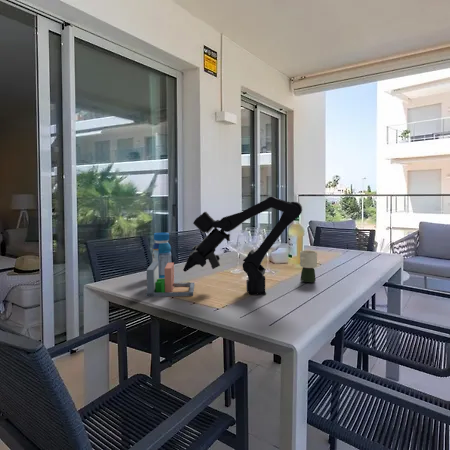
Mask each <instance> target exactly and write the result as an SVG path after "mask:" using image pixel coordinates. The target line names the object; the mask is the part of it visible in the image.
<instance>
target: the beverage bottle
mask: <svg viewBox="0 0 450 450" xmlns="http://www.w3.org/2000/svg"><path fill="white" fill-rule="evenodd" d="M153 241H154V244H153V245H152V253H151V256H152V262H159V279H164V278H165V267H166V265H167V263H172V252H171V250H172V245H171V244H170V242H169V241H170V233H169V232H154V233H153Z"/></svg>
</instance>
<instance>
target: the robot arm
mask: <svg viewBox="0 0 450 450" xmlns="http://www.w3.org/2000/svg"><path fill="white" fill-rule="evenodd" d="M269 209H275V210H278V211H279V212H282V214H281V216H280V218H279V220H278V222H277V223H276V224H275V226H274V227H273V229H271V231H270V232H269V233H268V235H267V236H266V238H265V239H264V240H263V241H262V243H261V244H260V245H259V247H258V248H257V249H256V250H255V251H254V250H253V249H251V250H250V251H249V252H248V254H247V255H246V256H245V258H243V260H242V261H243V263H242V270H243V271H244V272H245V273H246V276H247V279H245V280H246V283H245V284H246V285H245V286H246V289H245V290H246V292H247V293H248V295H252V296H253V295H267V292H266V276H265V273H266V271H267V270H266V268H265V267H264V266H263V265H262V263H263V261H264V259H265V257H266V255H267V253H268V252H269V251H270V250H271V248H272V247H273V246H274V244H275V243H276V241H278V239H279V238H280V236H281V235H282V234H283V233H284V231H285V230H286V229H287V228H288V226H290V224H291V223H293V222H294V221H295V220H296V219H297V218H298V217H299V216H301V214H302V213H303V206H302V204H301V203H300V202H298V201H295V200H294V201H291V202H290V201H288V200H284V199H280V198H276V197H275V196H269V197H267V198H266V199H264V200H262V201H259V202H258V203H256V204H254V205H252V206H250V207H248V208H247V209H244V210H242V211H239V212H237V213H234V214H231V215H226V216H224V217H222V218H221V219H216V220H215V219H214V218H213V217H212V216H210V214H209V213H208V212H207V211H204V212H202V213H201V214H200V215H199V216H198V217H196V218H195V219H194V220H193V221H192V224H193V225H194V226H195V227H196V228H197V229H198V230H199V231H200V232H201V233H202V234H207V235H206V236H205V237H204V238H203V239H202V241H200V243H198V244H195V245H194V246H193V247H192V248H191V250H192V251H190V253H189V256H188V258H187V260H186V261H185V262H186V263H185V265H184V267H183V270H182V271H184V273H187V271H189V270H190V269H192V268H193V267H195V266H196V265H197V266H200V267H201V268H203V267H205V265H207V261H208V262H209V264H210V266H211V268H212V270H214V269H216V268H218V267H220V266H221V265H220V262H219V261H220V260H221V258H220V256H219V255H218V254H216V253H215V252H216V249H217V247H218V246H220V245H221V243H223V242H224V241H225V240H226V241H228V242H230V240H231V234H230V233H229V232H231V231H234V230H235V229H236V228H238V227H239V226H241V225H242V224H243V223H244V222H246V221H247V220H250V219H251V218H253V217H255V216H257V215H259V214H261V213H263V212H266V211H267V210H269ZM227 232H228V233H227Z"/></svg>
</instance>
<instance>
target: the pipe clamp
mask: <svg viewBox="0 0 450 450" xmlns="http://www.w3.org/2000/svg"><path fill="white" fill-rule="evenodd" d="M155 286H156V293H160V292H165V278H164V279H157V282H155Z"/></svg>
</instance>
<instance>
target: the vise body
mask: <svg viewBox="0 0 450 450" xmlns="http://www.w3.org/2000/svg"><path fill="white" fill-rule="evenodd" d="M157 279H159V262H153V261H151V264H150V265H149V266H148V267H147V269H146V292H145V297H193V296H194V291H195V290H194V289H195V282H190V287H189V290H188V291H178V292H177V291H174V292H173V291H172V292H160V293H156V286H155V282H157ZM179 283H180V282H174V284H179Z"/></svg>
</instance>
